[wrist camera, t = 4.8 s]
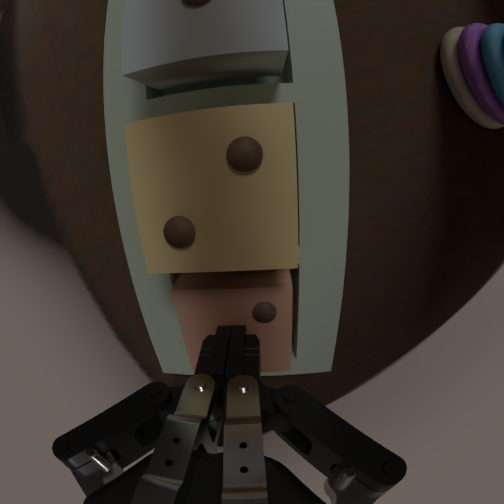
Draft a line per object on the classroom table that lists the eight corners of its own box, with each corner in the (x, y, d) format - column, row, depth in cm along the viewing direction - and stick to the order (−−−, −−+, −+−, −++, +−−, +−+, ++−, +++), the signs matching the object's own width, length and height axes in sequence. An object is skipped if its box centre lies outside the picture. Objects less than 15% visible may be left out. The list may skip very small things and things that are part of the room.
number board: (315, -18, 10) (323, -40, 7) (324, 343, 20) (330, 371, 17) (129, 6, 11) (109, -11, 8) (173, 346, 21) (163, 372, 18)
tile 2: (283, 114, 12) (293, 102, 8) (288, 233, 14) (298, 269, 10) (161, 126, 12) (122, 124, 8) (175, 239, 14) (146, 275, 10)
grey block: (270, -17, 9) (273, -60, 5) (280, 75, 11) (289, 48, 7) (158, -1, 9) (128, -34, 5) (158, 90, 11) (120, 74, 7)
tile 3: (286, 253, 17) (292, 287, 13) (286, 330, 19) (290, 372, 15) (189, 257, 17) (170, 291, 13) (203, 332, 19) (192, 372, 16)
